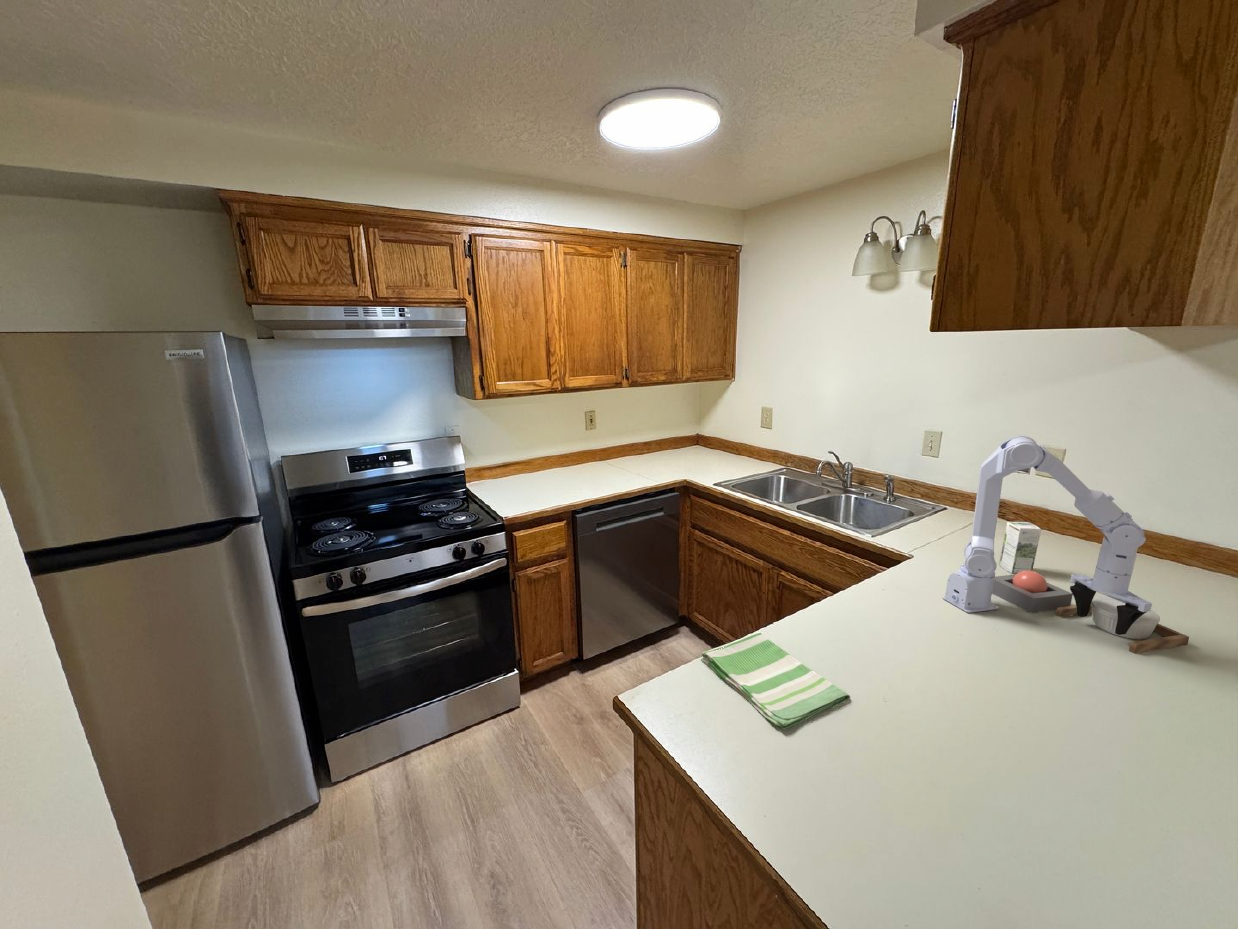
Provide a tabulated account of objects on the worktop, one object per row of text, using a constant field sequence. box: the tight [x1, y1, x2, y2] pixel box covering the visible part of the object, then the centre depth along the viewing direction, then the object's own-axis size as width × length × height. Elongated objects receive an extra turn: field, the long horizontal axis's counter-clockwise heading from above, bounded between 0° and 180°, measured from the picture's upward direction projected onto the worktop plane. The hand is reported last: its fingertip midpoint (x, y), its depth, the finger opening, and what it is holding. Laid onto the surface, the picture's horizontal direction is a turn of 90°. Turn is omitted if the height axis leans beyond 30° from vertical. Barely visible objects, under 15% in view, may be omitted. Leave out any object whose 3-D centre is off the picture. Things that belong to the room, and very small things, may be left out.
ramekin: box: [1091, 596, 1161, 640], centre depth 113 cm, size 11×11×5 cm
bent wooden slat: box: [1055, 604, 1190, 654], centre depth 113 cm, size 15×16×2 cm
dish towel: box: [700, 631, 851, 731], centre depth 97 cm, size 18×23×3 cm
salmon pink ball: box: [1013, 570, 1048, 593], centre depth 127 cm, size 7×7×7 cm
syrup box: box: [998, 521, 1042, 575], centre depth 143 cm, size 6×6×14 cm
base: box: [992, 573, 1074, 614], centre depth 127 cm, size 12×12×4 cm
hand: (1100, 624), depth 112 cm, fingers open, 7 cm apart
